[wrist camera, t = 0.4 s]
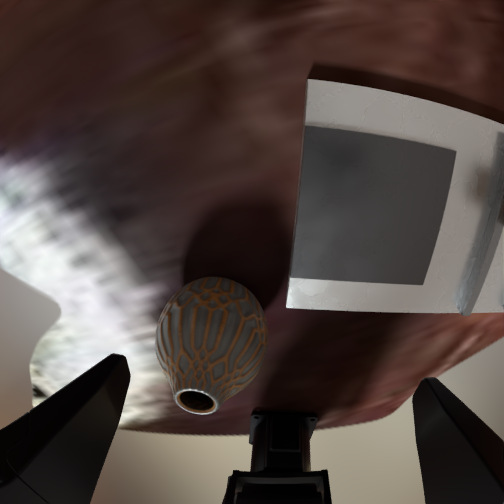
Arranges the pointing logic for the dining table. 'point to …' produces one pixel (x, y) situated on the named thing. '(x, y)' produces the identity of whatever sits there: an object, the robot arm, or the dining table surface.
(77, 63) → the dining table surface
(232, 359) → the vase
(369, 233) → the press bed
